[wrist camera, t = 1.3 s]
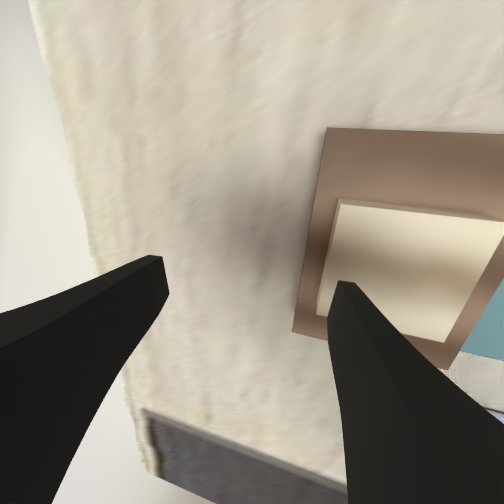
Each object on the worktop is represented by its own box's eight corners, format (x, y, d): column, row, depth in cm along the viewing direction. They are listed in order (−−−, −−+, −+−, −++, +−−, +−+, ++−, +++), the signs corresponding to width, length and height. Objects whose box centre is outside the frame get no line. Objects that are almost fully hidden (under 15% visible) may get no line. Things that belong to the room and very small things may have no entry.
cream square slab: (430, 322, 16) (443, 342, 14) (317, 298, 18) (316, 314, 16) (484, 213, 13) (510, 222, 11) (338, 197, 15) (340, 204, 13)
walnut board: (431, 341, 20) (447, 370, 17) (295, 311, 23) (291, 331, 20) (535, 140, 13) (588, 137, 11) (326, 131, 16) (326, 127, 13)
